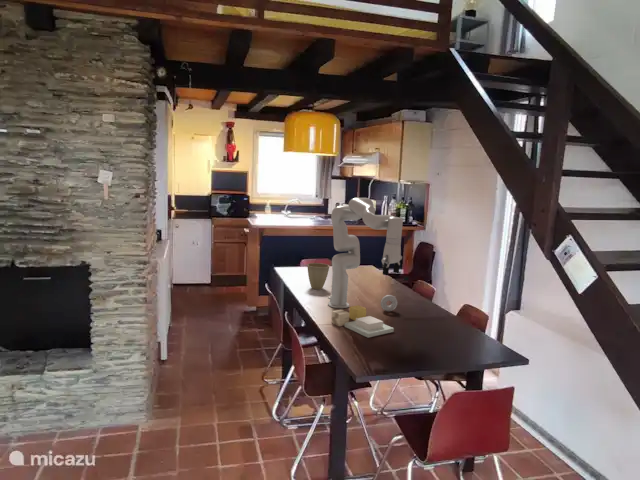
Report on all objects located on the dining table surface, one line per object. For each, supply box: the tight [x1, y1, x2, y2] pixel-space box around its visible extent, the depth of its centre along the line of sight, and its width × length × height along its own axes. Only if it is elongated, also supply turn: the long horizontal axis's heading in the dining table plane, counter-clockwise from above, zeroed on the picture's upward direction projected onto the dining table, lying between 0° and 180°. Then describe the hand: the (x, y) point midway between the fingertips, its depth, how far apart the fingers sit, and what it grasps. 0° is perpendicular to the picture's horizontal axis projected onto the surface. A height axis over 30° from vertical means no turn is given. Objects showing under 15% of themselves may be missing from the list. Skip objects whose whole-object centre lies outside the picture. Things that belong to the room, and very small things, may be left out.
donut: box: [380, 294, 398, 312], centre depth 284 cm, size 10×3×10 cm, turn 98°
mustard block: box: [348, 304, 367, 321], centre depth 267 cm, size 6×6×6 cm
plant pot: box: [307, 262, 330, 290], centre depth 326 cm, size 15×15×16 cm
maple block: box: [330, 309, 350, 327], centre depth 257 cm, size 6×6×6 cm
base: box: [344, 315, 395, 338], centre depth 251 cm, size 18×18×5 cm
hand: (390, 273), depth 250 cm, fingers open, 9 cm apart
